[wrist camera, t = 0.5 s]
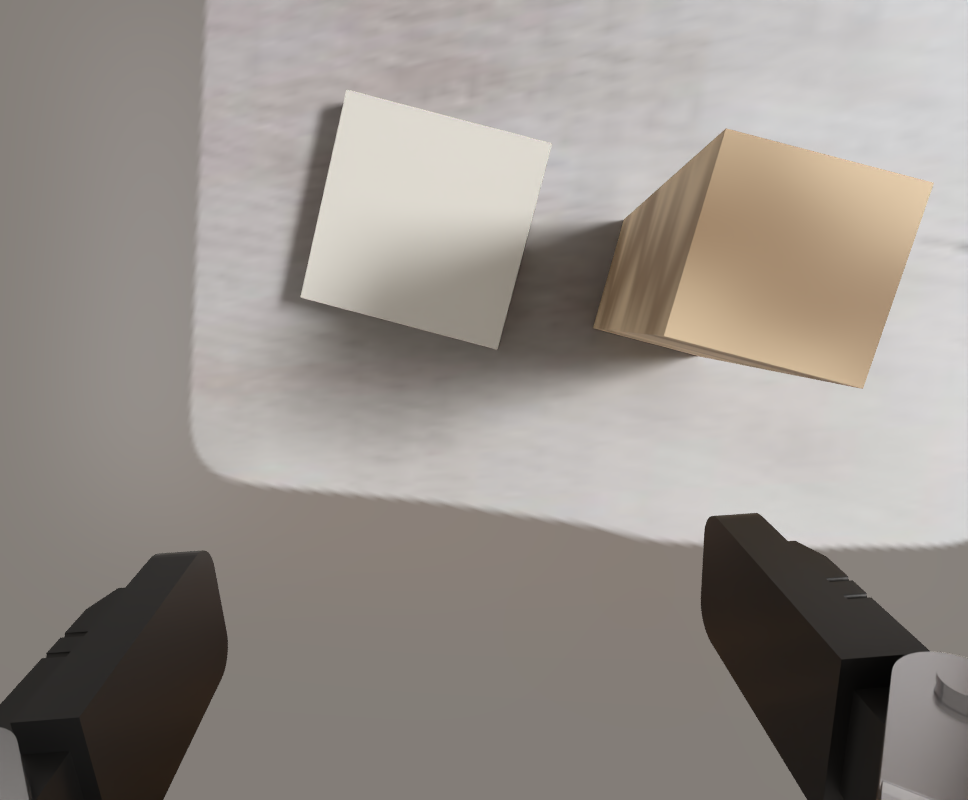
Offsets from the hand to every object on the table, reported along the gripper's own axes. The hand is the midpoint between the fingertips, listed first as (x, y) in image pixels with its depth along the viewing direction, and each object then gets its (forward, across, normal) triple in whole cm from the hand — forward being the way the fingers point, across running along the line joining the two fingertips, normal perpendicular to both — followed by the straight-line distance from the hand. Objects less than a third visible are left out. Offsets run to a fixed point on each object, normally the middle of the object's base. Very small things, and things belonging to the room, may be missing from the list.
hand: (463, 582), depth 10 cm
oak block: (+20, -10, -2) cm, 22 cm away
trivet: (+21, +1, -5) cm, 22 cm away
